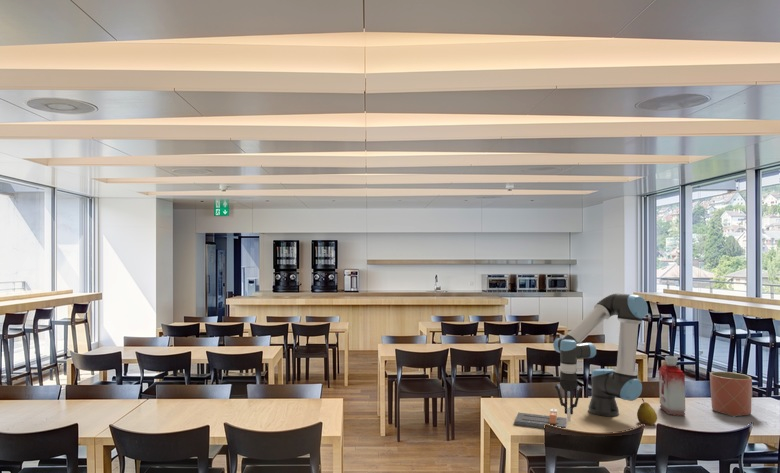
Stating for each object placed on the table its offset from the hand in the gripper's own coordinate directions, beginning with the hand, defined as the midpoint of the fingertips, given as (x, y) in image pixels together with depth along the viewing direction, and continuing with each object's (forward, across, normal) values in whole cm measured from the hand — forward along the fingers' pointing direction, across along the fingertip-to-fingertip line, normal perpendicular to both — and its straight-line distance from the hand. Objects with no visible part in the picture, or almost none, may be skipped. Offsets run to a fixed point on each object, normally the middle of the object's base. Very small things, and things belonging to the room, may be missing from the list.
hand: (568, 420), depth 246 cm
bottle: (+4, -52, -51) cm, 73 cm away
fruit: (+4, -37, -24) cm, 44 cm away
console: (+4, +13, -4) cm, 14 cm away
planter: (+4, -82, -63) cm, 103 cm away
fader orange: (+2, +7, 0) cm, 8 cm away
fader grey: (+2, +7, -7) cm, 10 cm away
